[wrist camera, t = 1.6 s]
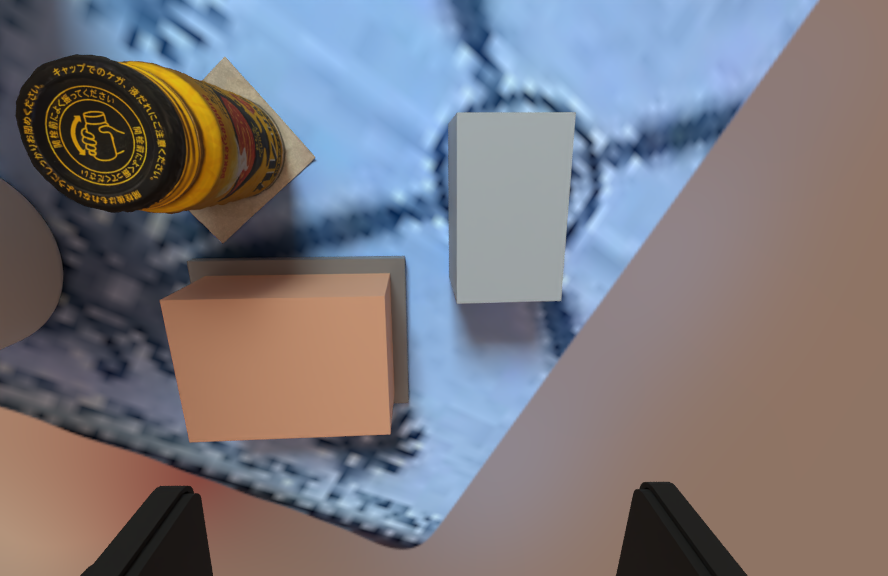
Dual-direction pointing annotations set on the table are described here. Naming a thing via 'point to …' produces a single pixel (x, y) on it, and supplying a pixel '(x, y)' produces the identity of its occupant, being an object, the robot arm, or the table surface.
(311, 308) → the brick
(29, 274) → the cylinder vase
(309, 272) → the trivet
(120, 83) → the condiment
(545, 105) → the table surface
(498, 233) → the brick
